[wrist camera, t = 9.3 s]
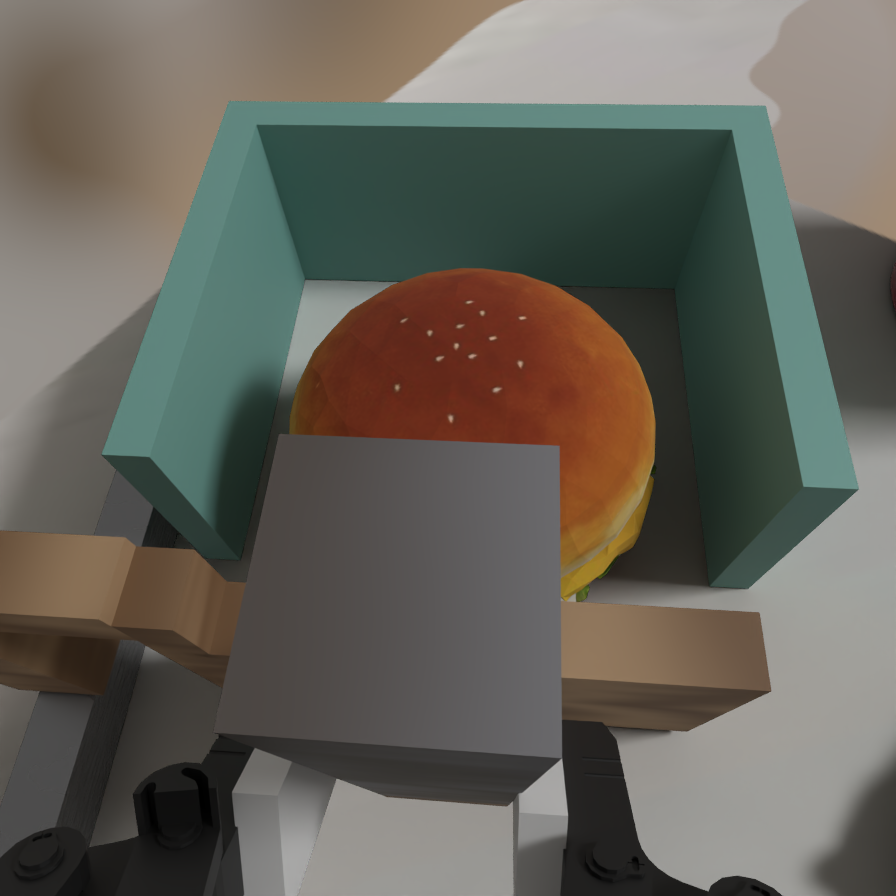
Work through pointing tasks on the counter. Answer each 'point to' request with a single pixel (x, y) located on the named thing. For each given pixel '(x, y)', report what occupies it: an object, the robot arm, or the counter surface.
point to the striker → (384, 622)
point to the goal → (503, 249)
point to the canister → (893, 286)
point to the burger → (498, 394)
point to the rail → (80, 711)
